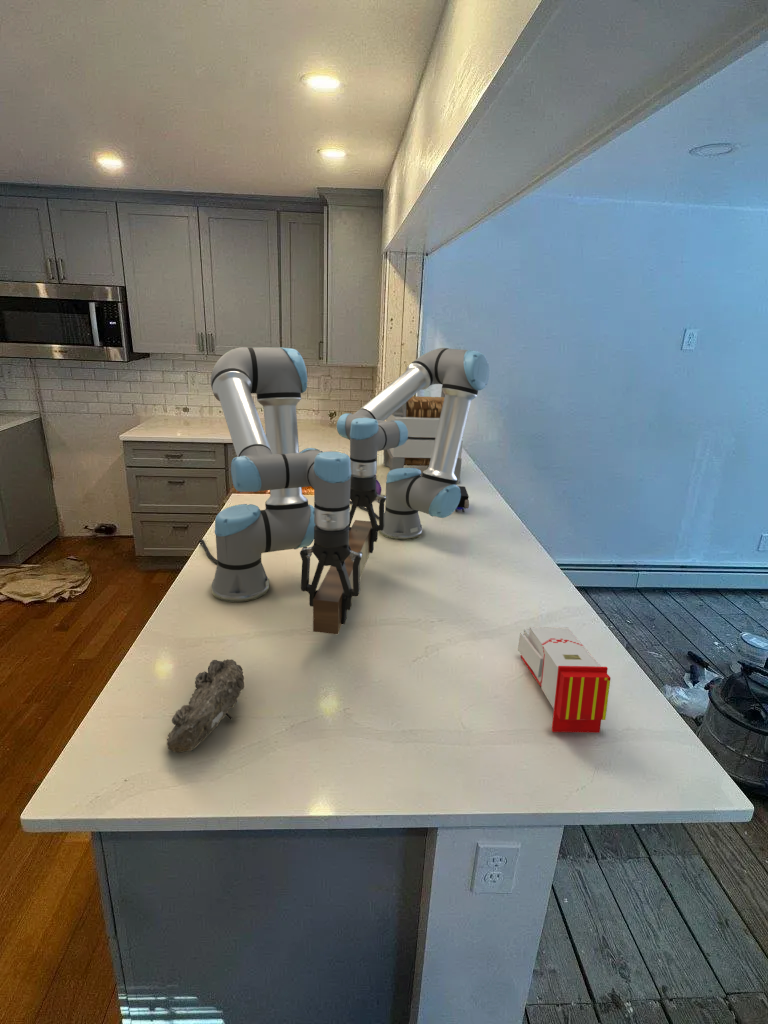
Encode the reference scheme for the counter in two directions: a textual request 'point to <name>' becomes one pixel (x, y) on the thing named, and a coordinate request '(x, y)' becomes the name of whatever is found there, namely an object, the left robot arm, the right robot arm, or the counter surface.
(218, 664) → the fossil
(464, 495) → the figurine character
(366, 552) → the bar
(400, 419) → the white wooden crate
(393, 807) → the counter surface
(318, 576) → the left robot arm
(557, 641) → the toy
